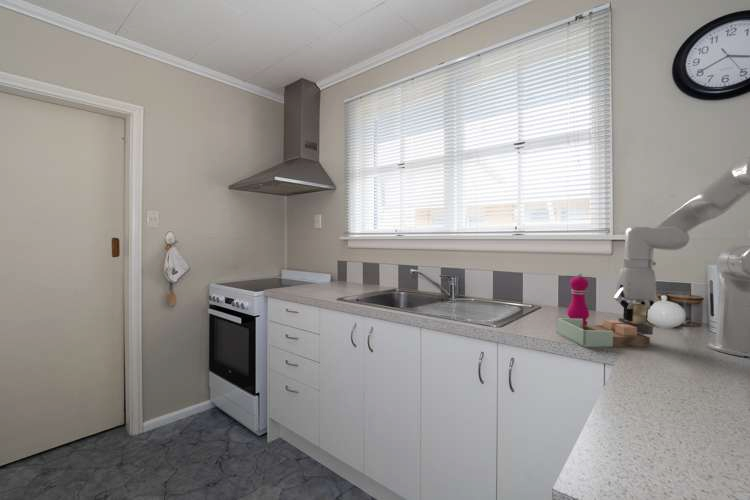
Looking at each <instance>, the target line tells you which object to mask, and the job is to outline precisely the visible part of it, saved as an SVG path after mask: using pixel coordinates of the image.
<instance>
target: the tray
mask: <svg viewBox="0 0 750 500" xmlns="http://www.w3.org/2000/svg"><path fill="white" fill-rule="evenodd" d="M556 333H557V334H558V335H561V336H562V337H563V338H566V339H567V340H570V341H571V340H572V341H571V342H573V343H575V344H577V345H578V346H581V347H583V348H611V347H613V331H592V330H583V319H570V318H558V317H557V318H556Z"/></svg>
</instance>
